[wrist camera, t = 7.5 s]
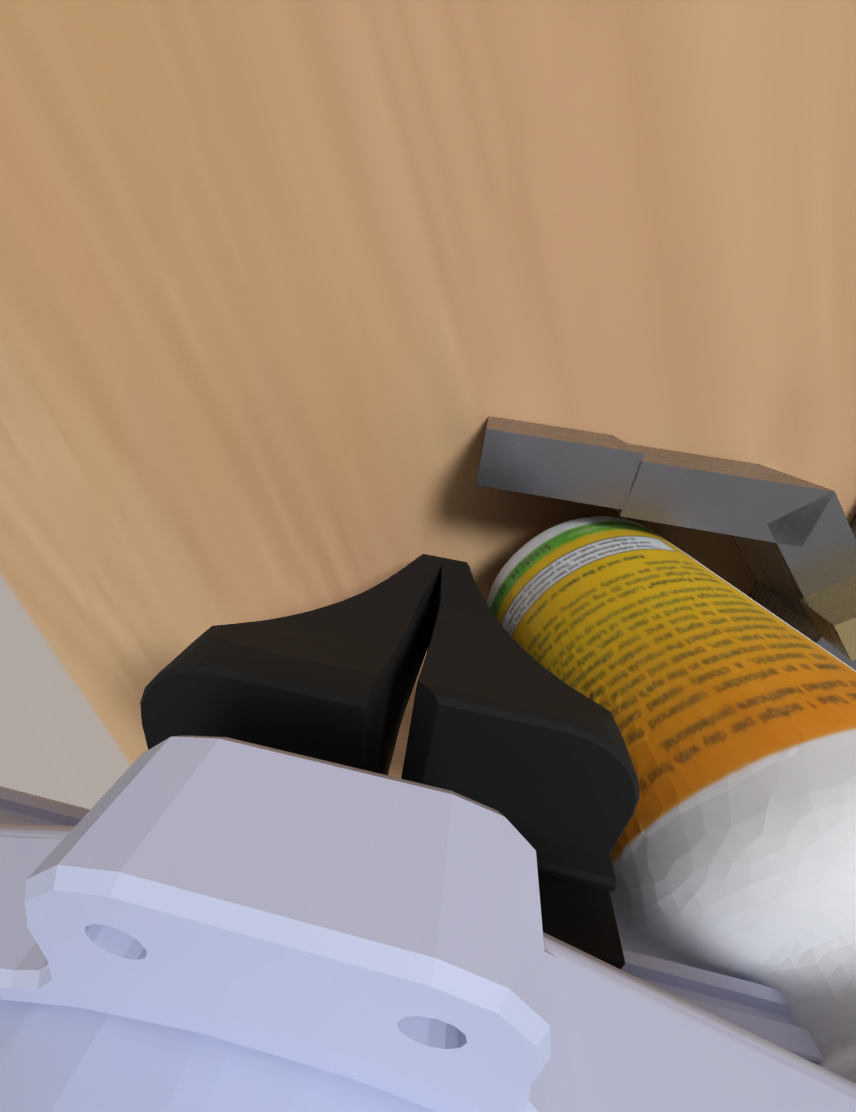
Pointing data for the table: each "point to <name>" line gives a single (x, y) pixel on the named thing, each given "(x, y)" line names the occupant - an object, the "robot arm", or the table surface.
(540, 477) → the socket
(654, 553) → the supplement bottle
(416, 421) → the table surface
